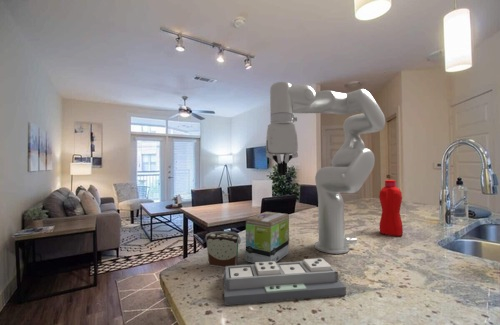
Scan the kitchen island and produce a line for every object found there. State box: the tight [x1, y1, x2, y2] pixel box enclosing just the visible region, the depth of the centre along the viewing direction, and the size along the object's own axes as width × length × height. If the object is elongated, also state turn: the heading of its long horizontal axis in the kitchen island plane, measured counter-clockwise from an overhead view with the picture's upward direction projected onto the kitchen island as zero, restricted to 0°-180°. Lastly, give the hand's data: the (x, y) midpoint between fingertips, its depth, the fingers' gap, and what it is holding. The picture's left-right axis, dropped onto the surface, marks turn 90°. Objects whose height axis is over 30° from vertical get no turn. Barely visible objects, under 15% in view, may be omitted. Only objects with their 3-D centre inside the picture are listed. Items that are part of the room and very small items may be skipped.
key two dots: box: [230, 267, 253, 278], centre depth 63 cm, size 6×6×2 cm
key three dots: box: [303, 257, 332, 272], centre depth 66 cm, size 6×6×2 cm
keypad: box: [222, 260, 347, 306], centre depth 65 cm, size 30×14×4 cm, turn 97°
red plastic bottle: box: [378, 179, 404, 237], centre depth 113 cm, size 9×11×25 cm
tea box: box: [244, 211, 290, 264], centre depth 85 cm, size 15×10×15 cm, turn 148°
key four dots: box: [255, 261, 280, 276], centre depth 64 cm, size 6×6×2 cm
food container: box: [204, 230, 242, 268], centre depth 80 cm, size 12×6×10 cm, turn 71°
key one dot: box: [280, 264, 306, 274], centre depth 65 cm, size 6×6×2 cm
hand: (282, 175), depth 80 cm, fingers closed
